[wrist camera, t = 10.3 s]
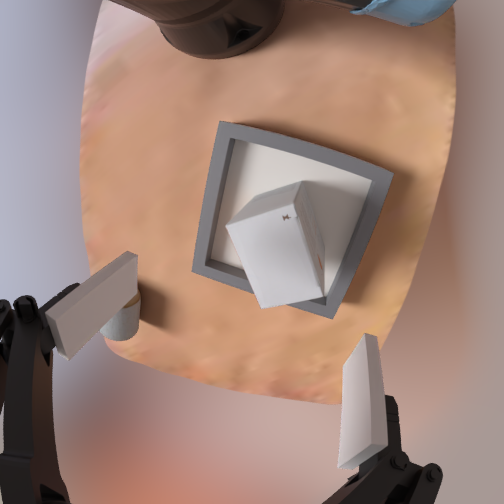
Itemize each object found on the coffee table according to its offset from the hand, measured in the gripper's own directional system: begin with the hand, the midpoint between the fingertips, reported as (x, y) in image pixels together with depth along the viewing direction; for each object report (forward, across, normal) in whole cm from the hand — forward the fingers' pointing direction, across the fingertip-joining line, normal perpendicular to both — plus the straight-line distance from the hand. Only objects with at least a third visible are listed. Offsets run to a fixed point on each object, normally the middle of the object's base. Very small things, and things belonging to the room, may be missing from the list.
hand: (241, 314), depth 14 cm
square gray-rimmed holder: (+20, 0, 0) cm, 20 cm away
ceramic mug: (+20, -23, -22) cm, 37 cm away
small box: (+18, +1, 0) cm, 18 cm away
